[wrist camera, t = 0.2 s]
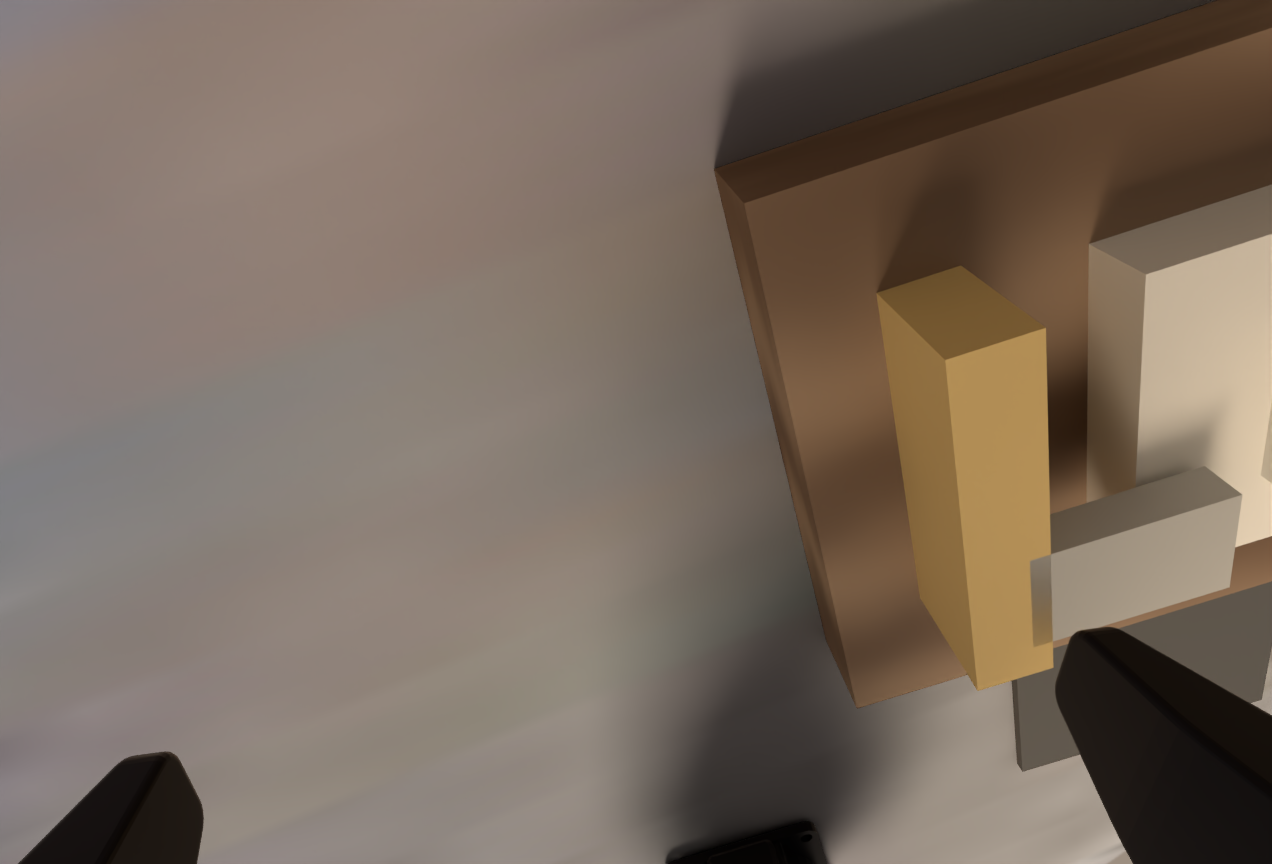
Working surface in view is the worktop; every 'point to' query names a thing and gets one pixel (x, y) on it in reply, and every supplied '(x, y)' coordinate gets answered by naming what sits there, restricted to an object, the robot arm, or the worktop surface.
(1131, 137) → the base box
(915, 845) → the worktop surface
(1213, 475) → the tan rectangular block
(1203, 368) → the cover
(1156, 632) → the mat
